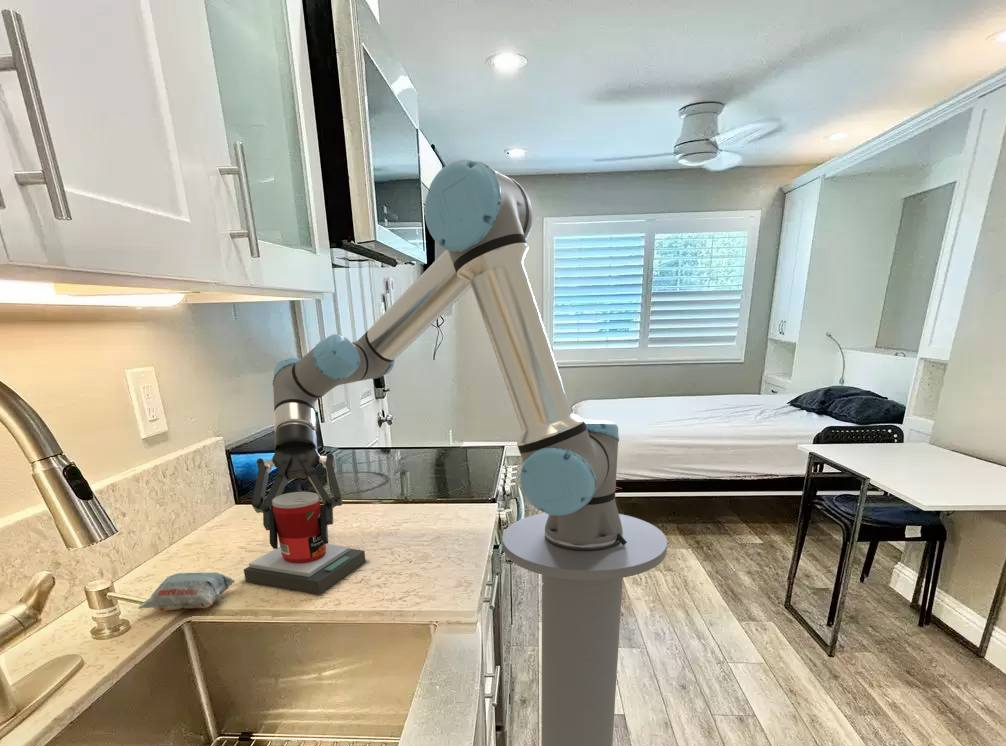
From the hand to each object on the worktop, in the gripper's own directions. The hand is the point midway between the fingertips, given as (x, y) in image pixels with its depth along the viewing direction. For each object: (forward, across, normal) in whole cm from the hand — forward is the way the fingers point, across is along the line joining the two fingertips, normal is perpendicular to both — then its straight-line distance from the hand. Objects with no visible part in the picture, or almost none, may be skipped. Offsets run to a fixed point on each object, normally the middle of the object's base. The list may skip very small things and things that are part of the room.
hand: (299, 543), depth 99 cm
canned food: (0, 0, -5) cm, 5 cm away
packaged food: (+9, +18, -1) cm, 20 cm away
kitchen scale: (+3, 0, -7) cm, 8 cm away
